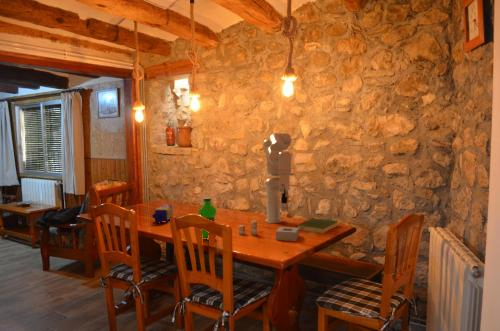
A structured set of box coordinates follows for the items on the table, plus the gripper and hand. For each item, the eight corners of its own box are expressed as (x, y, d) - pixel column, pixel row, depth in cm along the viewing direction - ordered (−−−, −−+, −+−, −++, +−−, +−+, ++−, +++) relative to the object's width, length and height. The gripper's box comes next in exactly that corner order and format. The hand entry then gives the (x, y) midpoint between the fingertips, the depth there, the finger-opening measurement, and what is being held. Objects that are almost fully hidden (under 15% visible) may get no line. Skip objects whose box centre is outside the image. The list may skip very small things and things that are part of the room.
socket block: (279, 234, 234) (279, 226, 233) (299, 235, 230) (299, 227, 230) (275, 239, 222) (275, 231, 222) (296, 240, 219) (295, 232, 218)
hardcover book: (313, 223, 265) (313, 218, 265) (338, 226, 254) (338, 221, 254) (296, 230, 245) (296, 225, 245) (322, 234, 234) (322, 228, 234)
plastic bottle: (217, 240, 222) (217, 199, 220) (200, 241, 219) (199, 199, 218) (215, 236, 231) (215, 196, 230) (198, 237, 229) (197, 197, 227)
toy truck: (174, 217, 291) (173, 204, 290) (166, 224, 266) (165, 210, 265) (161, 217, 291) (160, 204, 290) (152, 224, 266) (151, 210, 265)
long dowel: (282, 210, 228) (282, 187, 227) (288, 210, 227) (288, 187, 226) (281, 211, 224) (280, 188, 223) (287, 211, 223) (287, 188, 222)
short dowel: (239, 232, 240) (239, 225, 239) (245, 233, 239) (245, 225, 238) (237, 234, 236) (237, 226, 236) (243, 234, 235) (243, 226, 234)
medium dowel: (251, 233, 237) (251, 221, 237) (257, 233, 236) (257, 221, 236) (250, 235, 234) (249, 222, 233) (256, 235, 233) (256, 222, 232)
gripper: (281, 171, 233) (281, 200, 234) (275, 173, 217) (275, 204, 218) (293, 171, 231) (293, 200, 232) (288, 173, 215) (288, 205, 216)
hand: (285, 202), depth 225 cm, fingers closed on long dowel, 4 cm apart
